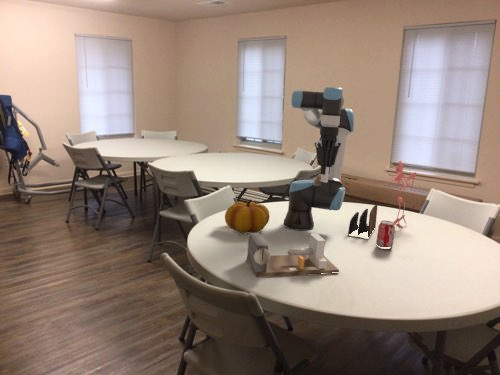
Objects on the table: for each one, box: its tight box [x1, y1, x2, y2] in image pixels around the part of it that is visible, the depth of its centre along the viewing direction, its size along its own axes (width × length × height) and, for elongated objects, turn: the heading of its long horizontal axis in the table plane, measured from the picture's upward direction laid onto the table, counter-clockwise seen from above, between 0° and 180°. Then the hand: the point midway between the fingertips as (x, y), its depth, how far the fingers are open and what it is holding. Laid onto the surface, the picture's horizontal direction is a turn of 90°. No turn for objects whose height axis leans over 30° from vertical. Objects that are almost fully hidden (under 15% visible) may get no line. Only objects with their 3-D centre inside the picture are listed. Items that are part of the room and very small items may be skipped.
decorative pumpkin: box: [224, 199, 270, 234], centre depth 204 cm, size 20×22×15 cm
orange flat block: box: [298, 256, 304, 269], centre depth 159 cm, size 1×3×4 cm, turn 13°
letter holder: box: [347, 204, 378, 237], centre depth 211 cm, size 10×20×14 cm, turn 155°
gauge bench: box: [246, 232, 340, 278], centre depth 164 cm, size 33×16×12 cm, turn 103°
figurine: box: [388, 160, 417, 228], centre depth 224 cm, size 15×26×35 cm, turn 143°
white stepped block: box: [287, 233, 327, 269], centre depth 163 cm, size 12×12×10 cm
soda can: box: [376, 220, 396, 248], centre depth 191 cm, size 7×7×12 cm
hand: (324, 181), depth 181 cm, fingers closed
